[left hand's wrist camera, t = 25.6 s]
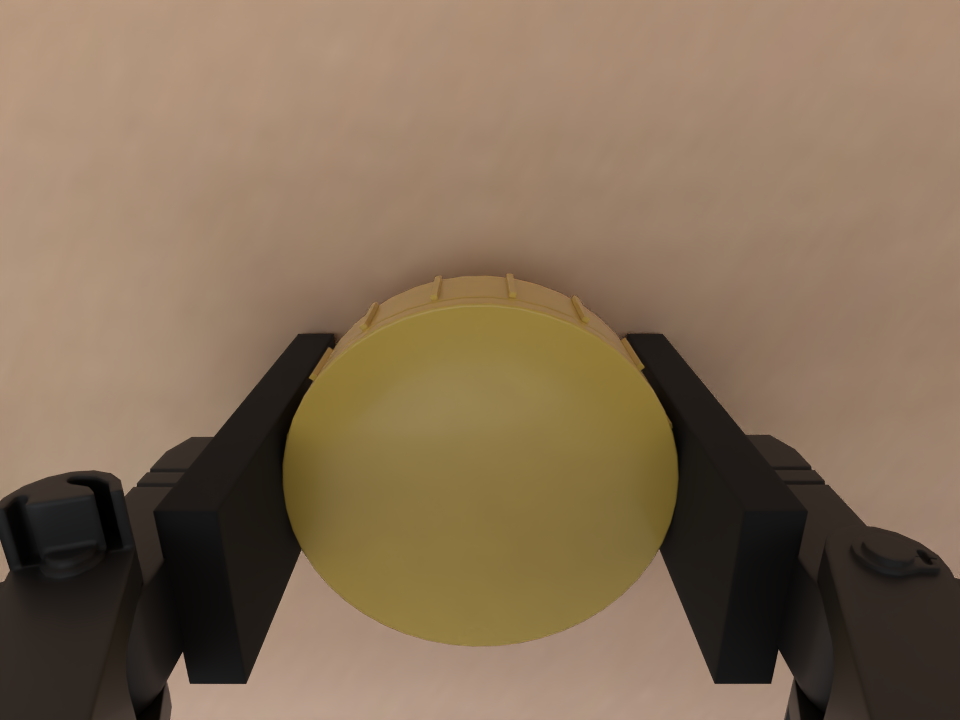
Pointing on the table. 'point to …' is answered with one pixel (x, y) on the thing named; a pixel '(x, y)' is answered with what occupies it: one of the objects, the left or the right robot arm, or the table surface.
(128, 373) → the table surface
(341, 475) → the lid
